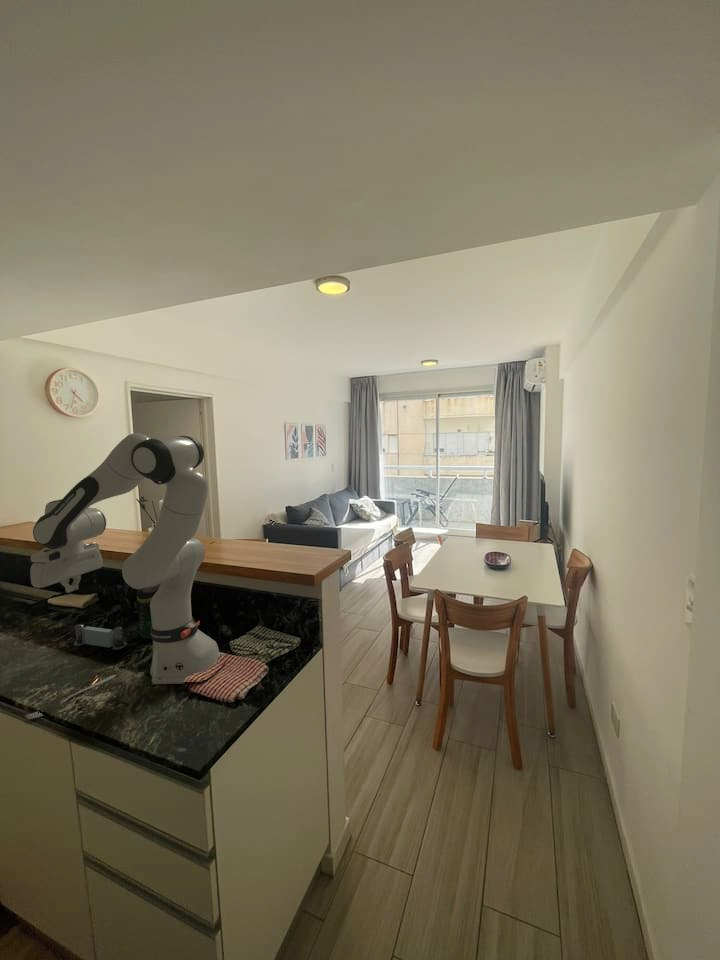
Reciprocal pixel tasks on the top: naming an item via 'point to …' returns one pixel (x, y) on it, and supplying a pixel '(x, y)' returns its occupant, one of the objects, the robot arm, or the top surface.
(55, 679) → the top surface
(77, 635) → the round knob
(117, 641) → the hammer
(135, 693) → the top surface
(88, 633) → the grey flat block
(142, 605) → the coffee jar
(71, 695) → the fork
